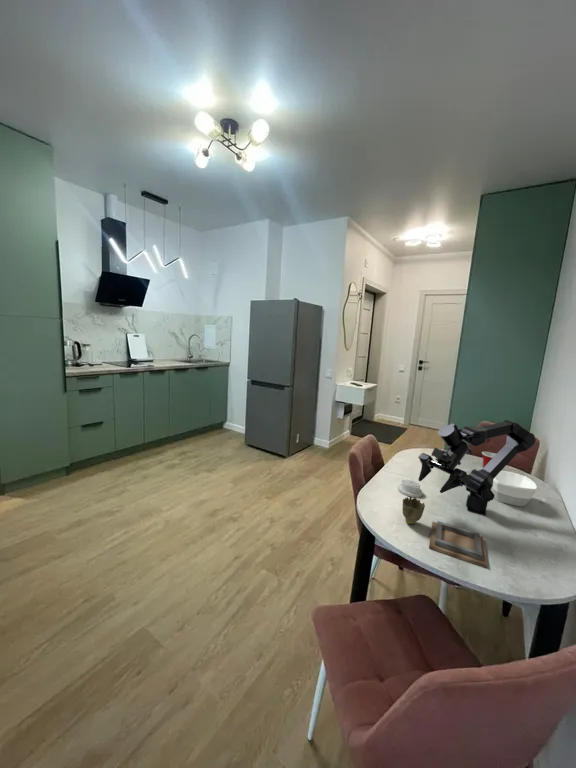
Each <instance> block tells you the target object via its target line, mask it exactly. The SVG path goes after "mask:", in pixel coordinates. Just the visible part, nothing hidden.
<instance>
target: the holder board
mask: <svg viewBox="0 0 576 768" xmlns="http://www.w3.org/2000/svg"><path fill="white" fill-rule="evenodd" d="M431 523H432V524H431V531H430V538H429V547H428V549H429V550H433V551H435V552H438V553H441V554H445V555H448V556H451V557H453V558H455V559H456V558H457V559H459V560H462V561H465V562H467V563H471V564H474V565H477V566H480V567H483V568H485V569H488V561H487V553H486V552H487V551H486V545H485V539H484V536H481V535H480V533H478V532H475V531H473V530H469V529H465V528H462V527H459V526H456V525H452V524H450V523H447V522H443V521H440V520H439V521H438V520H437V522H435V521H432V522H431Z"/></svg>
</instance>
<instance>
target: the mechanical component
mask: <svg viewBox="0 0 576 768" xmlns="http://www.w3.org/2000/svg"><path fill="white" fill-rule="evenodd" d="M397 490H398V492H399V493H400V494H402V495H403V496H406V497H409V498H410V497H411V498H420V497H422V495H423V490H422V489H421V484H420V483H419V482H418V481H416V480H413V479H408V478H406V479H405V478H403V479H402V480H401V483H400V484H398V485H397Z"/></svg>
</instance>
